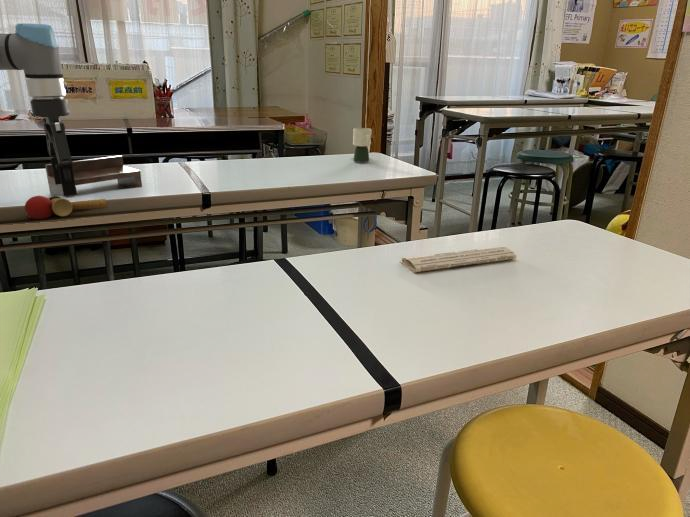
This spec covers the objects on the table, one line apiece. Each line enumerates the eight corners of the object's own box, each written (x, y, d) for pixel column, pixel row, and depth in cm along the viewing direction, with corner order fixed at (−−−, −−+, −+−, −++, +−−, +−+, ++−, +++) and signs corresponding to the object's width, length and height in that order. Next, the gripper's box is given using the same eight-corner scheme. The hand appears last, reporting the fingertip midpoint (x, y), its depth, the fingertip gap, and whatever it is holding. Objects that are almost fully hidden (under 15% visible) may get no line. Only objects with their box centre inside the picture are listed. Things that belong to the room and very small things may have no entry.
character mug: (375, 164, 202) (377, 130, 198) (359, 165, 199) (361, 131, 195) (362, 159, 211) (363, 126, 207) (347, 160, 208) (348, 127, 204)
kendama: (98, 211, 136) (20, 213, 124) (100, 188, 134) (20, 189, 121) (109, 222, 132) (29, 226, 119) (111, 199, 129) (30, 201, 117)
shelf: (67, 201, 140) (62, 170, 136) (50, 194, 146) (44, 164, 143) (142, 188, 155) (139, 160, 152) (123, 182, 162) (120, 155, 159)
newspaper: (415, 274, 98) (416, 265, 98) (398, 261, 104) (399, 253, 104) (515, 260, 107) (517, 252, 106) (494, 249, 113) (495, 241, 112)
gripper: (76, 101, 110) (92, 197, 117) (58, 94, 129) (74, 177, 136) (36, 102, 106) (55, 202, 113) (24, 95, 125) (42, 181, 132)
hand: (65, 189), depth 125 cm, fingers open, 13 cm apart
